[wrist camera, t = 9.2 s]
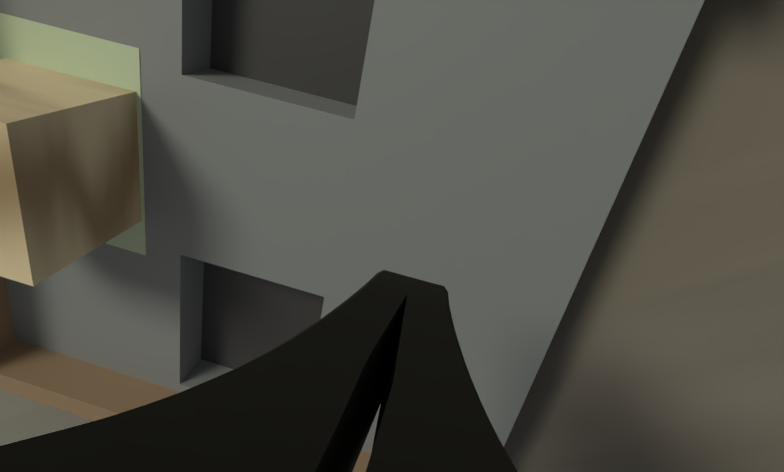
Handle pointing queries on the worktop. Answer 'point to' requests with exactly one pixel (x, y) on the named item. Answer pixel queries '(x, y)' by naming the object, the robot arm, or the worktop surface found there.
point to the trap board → (335, 178)
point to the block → (63, 168)
